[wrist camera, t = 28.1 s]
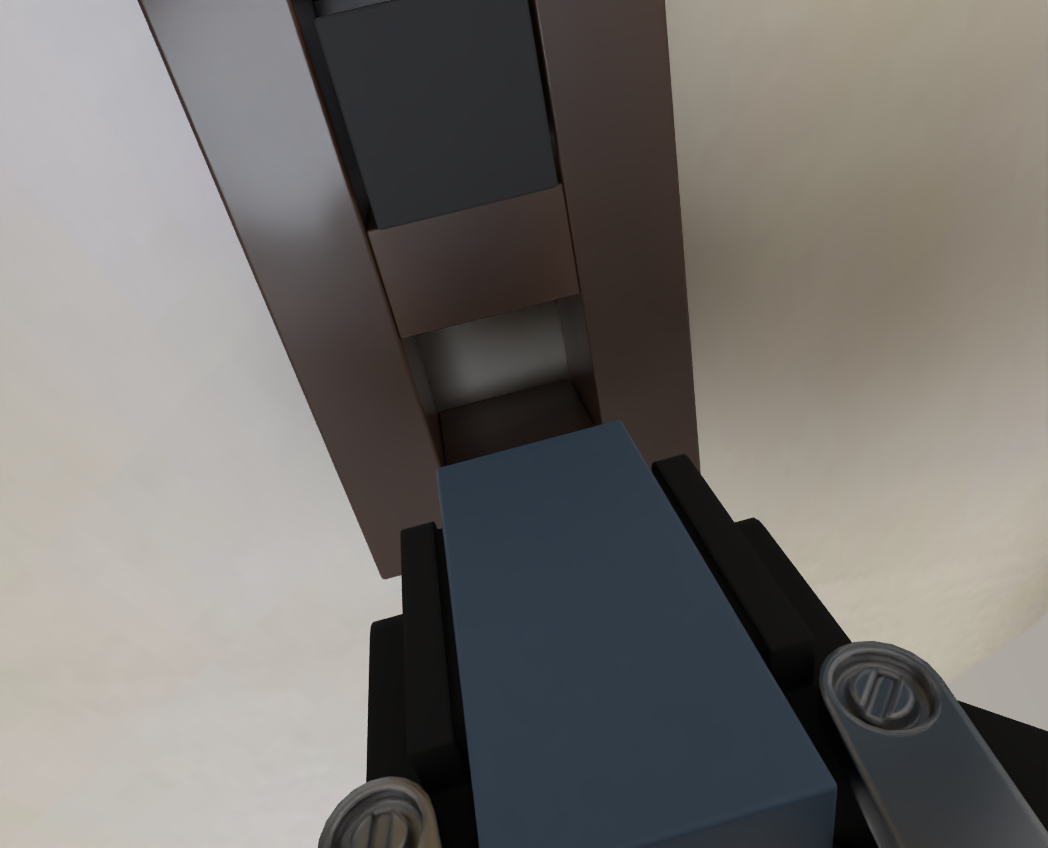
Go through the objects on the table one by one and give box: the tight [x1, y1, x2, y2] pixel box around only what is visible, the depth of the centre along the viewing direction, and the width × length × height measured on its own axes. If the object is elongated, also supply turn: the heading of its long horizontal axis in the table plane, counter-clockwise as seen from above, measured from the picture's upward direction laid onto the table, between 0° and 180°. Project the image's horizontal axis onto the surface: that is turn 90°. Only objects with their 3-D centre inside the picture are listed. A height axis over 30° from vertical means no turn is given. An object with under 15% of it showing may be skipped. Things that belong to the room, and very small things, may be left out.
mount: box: [138, 0, 701, 579], centre depth 17 cm, size 9×16×4 cm, turn 11°
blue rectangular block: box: [436, 420, 837, 848], centre depth 9 cm, size 3×3×6 cm
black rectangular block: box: [314, 0, 558, 230], centre depth 14 cm, size 3×3×6 cm
